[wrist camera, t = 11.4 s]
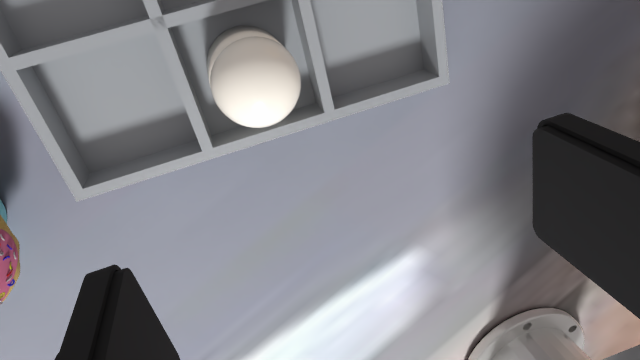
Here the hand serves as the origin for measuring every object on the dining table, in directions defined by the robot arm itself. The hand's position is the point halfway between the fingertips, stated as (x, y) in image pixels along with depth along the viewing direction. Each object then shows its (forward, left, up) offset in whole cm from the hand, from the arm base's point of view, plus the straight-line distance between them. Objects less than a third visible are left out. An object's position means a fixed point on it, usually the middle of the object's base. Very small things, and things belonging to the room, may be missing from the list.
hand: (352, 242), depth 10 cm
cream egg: (0, 0, -18) cm, 18 cm away
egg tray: (+4, 0, -18) cm, 19 cm away
